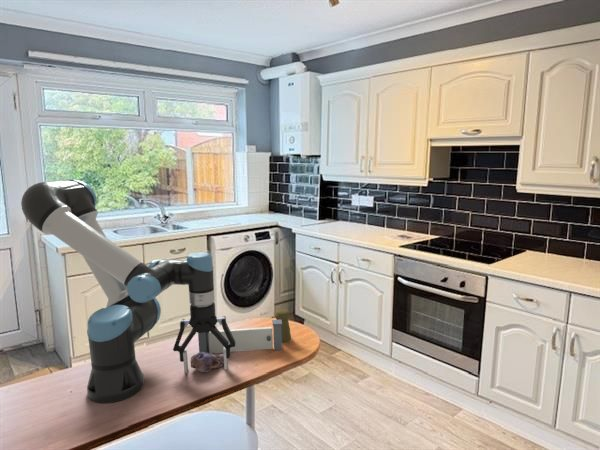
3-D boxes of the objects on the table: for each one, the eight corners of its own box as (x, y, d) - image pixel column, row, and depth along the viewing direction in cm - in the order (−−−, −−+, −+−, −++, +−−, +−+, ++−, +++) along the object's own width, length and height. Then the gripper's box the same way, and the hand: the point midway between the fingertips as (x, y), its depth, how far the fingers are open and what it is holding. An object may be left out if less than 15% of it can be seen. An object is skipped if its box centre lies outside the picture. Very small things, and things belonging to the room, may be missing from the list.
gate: (206, 355, 142) (205, 333, 140) (207, 352, 144) (206, 330, 143) (273, 350, 144) (272, 329, 143) (272, 347, 147) (271, 326, 145)
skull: (222, 358, 140) (222, 341, 139) (232, 368, 134) (231, 350, 133) (187, 369, 133) (186, 351, 132) (196, 379, 127) (194, 361, 126)
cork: (273, 336, 156) (272, 308, 154) (289, 335, 157) (289, 307, 155) (275, 343, 150) (275, 314, 148) (292, 342, 151) (291, 313, 149)
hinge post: (198, 356, 141) (196, 329, 140) (199, 351, 145) (197, 324, 143) (208, 355, 142) (206, 328, 140) (208, 351, 145) (207, 324, 144)
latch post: (273, 351, 144) (272, 324, 143) (272, 346, 148) (272, 320, 146) (282, 350, 145) (282, 323, 143) (282, 345, 148) (281, 319, 147)
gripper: (159, 309, 124) (164, 378, 128) (241, 305, 127) (244, 371, 130) (164, 301, 131) (169, 365, 135) (241, 296, 134) (244, 360, 138)
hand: (206, 368), depth 133 cm, fingers open, 12 cm apart
